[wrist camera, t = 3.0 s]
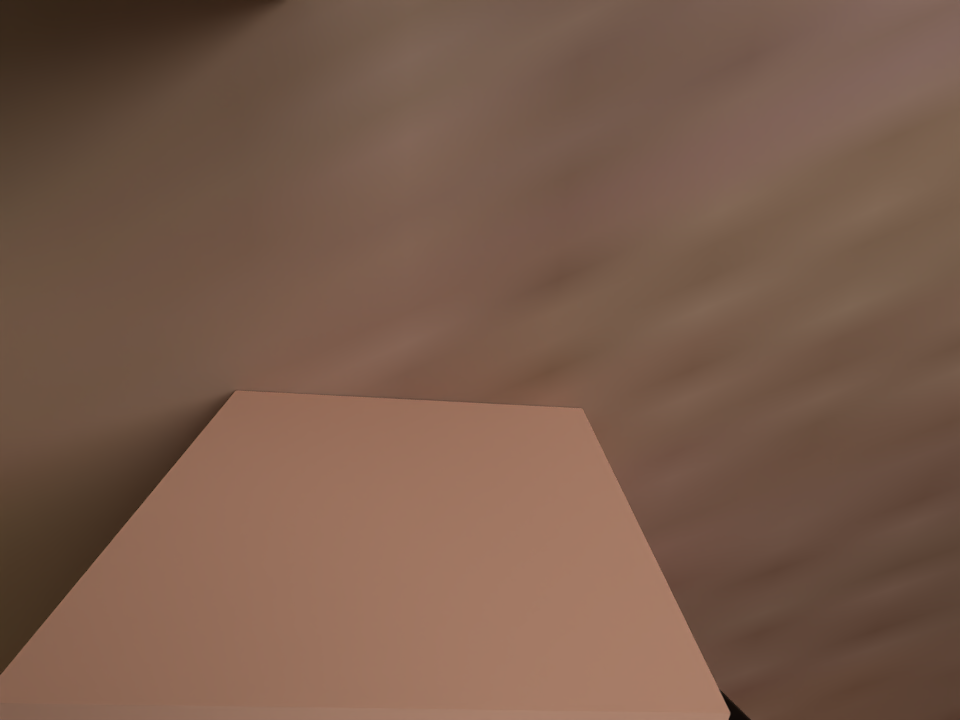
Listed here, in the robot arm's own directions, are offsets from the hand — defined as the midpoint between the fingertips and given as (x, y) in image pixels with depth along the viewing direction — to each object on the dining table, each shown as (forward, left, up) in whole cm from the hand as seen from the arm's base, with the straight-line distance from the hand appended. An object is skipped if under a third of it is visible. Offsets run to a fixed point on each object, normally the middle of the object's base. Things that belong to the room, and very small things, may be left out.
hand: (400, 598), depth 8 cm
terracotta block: (0, 0, -1) cm, 1 cm away
